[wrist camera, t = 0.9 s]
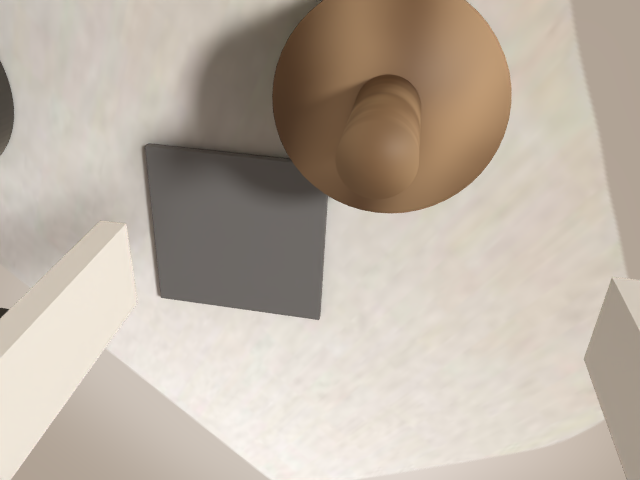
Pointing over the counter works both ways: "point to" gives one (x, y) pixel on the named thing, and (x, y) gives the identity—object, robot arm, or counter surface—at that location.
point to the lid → (391, 100)
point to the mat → (237, 230)
